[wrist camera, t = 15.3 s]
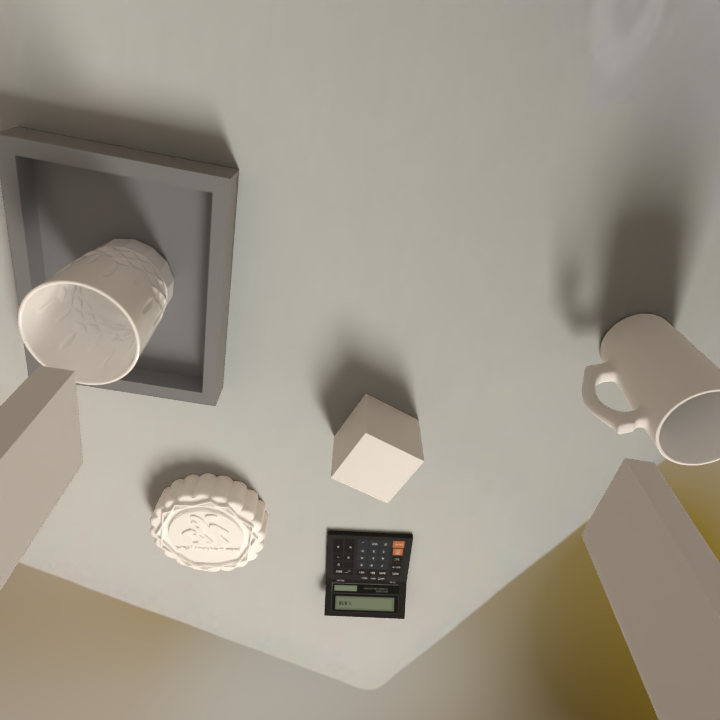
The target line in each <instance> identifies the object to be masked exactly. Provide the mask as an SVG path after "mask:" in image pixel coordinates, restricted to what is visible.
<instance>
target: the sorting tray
mask: <svg viewBox="0 0 720 720" xmlns="http://www.w3.org/2000/svg"><path fill="white" fill-rule="evenodd" d="M238 177H239V169H234V168H229V167H224V166H219V165H213V164H208V163H203V162H198V161H193V160H188V159H182V158H177V157H172V156H167V155H162V154H157V153H151V152H146V151H141V150H136V149H131V148H126V147H120V146H115V145H110V144H105V143H100V142H95V141H89V140H84V139H79V138H74V137H69V136H64V135H58V134H53V133H48V132H43V131H38V130H33V129H27V128H22V127H15V128H12V129H8V130H5V131H1V132H0V178H1V185H2V192H3V200H4V207H5V214H6V221H7V228H8V235H9V242H10V249H11V256H12V263H13V270H14V277H15V284H16V291H17V298H18V305H19V307H20V304H21V302H22V300H23V299H24V297H25V296H26V295H27V294H28V293H29V292H30V291H31V290H32V289H33V288H35V287H36V286H38V285H39V284H41V283H42V282H44V281H45V280H47V279H48V278H50V277H51V276H53V275H54V274H55V273H57V272H58V271H60V270H61V269H63V268H64V267H66V266H67V265H69V264H70V263H72V262H74V261H75V260H77V259H78V258H80V257H82V256H83V255H85V254H86V253H88V252H90V251H93V250H95V249H96V248H97V247H99V246H101V245H103V244H105V243H107V242H109V241H111V240H113V239H135V240H138V241H140V242H142V243H144V244H147V245H149V246H151V247H153V248H154V249H155V250H156V251H157V252H158V253H159V254H160V255H161V256H162V257H163V258H164V259H165V260H166V261H167V262H168V265H169V267H170V270H171V272H172V275H173V277H174V288H173V296H172V298H171V300H170V301H169V303H168V305H167V306H166V308H165V311H164V314H163V316H162V318H161V320H160V322H159V324H158V326H157V327H156V329H155V331H154V333H153V335H152V337H151V338H150V340H149V342H148V344H147V345H146V347H145V349H144V350H143V352H142V354H141V355H140V357H139V359H138V361H137V362H136V364H135V366H134V367H133V369H132V370H131V371H130V372H129V373H128V374H127V375H126V376H124V377H123V378H121V379H119V380H117V381H115V382H112V383H108V384H102V385H86V384H80V383H76V384H77V385H83V386H90V387H96V388H103V389H109V390H115V391H122V392H128V393H135V394H141V395H147V396H154V397H160V398H166V399H173V400H179V401H186V402H192V403H198V404H205V405H211V406H216V404H217V401H218V398H219V396H220V393H221V391H222V388H223V380H224V366H225V353H226V339H227V326H228V312H229V299H230V285H231V272H232V258H233V245H234V231H235V218H236V204H237V191H238ZM24 348H25V355H26V362H27V369H28V376H30V375H31V374H32V373H33V372H34V371H35V370H36V369H37V368H38V367H39V366H43V365H41V364H40V363H39V362H38V361H37V360H36V359H35V358H34V357H33V356H32V354H31V353H30V352H29V350H28V349H27V347H26V346H25V344H24Z"/></svg>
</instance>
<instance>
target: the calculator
mask: <svg viewBox="0 0 720 720" xmlns="http://www.w3.org/2000/svg"><path fill="white" fill-rule="evenodd" d="M412 541H413V534H391V533H369V532H348V531H328V545H327V574H326V595H325V615H328V616H352V617H375V618H398V619H404V616H405V598H406V581H407V575H408V568H409V561H410V555H411V548H412Z"/></svg>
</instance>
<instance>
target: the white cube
mask: <svg viewBox="0 0 720 720" xmlns="http://www.w3.org/2000/svg"><path fill="white" fill-rule="evenodd" d="M423 462H424V457H423V449H422V442H421V434H420V426H419V420H417V419H415V418H413V417H411V416H409V415H407V414H405V413H404V412H402V411H400V410H398V409H396V408H394V407H392V406H390V405H388V404H386V403H384V402H382V401H380V400H378V399H376V398H374V397H372V396H370V395H368V394H365V395H364V397H363V398H362V399H361V401H360V402H359V403H358V405H357V406H356V407H355V409H354V410H353V411H352V413H351V414H350V415H349V417H348V418H347V420H346V421H345V422H344V424H343V425H342V426H341V428H340V429H339V430H338V432H337V433H336V434H335V436H334V445H333V457H332V470H331V478H332V479H334V480H337V481H339V482H341V483H343V484H345V485H348V486H350V487H352V488H354V489H356V490H359V491H361V492H363V493H365V494H368V495H370V496H372V497H374V498H376V499H379V500H381V501H383V502H385V503H388V502H389V501H390V500H391V499H392V497H393V496H394V495H395V494H396V493H397V492H398V491H399V489H400V488H401V487H402V486H403V485H404V484H405V483H406V481H407V480H408V479H409V478H410V477H411V476H412V474H413V473H414V472H415V471H416V470H417V469H418V468H419V466H420V465H421V464H422V463H423Z"/></svg>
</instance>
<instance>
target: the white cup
mask: <svg viewBox="0 0 720 720" xmlns="http://www.w3.org/2000/svg"><path fill="white" fill-rule="evenodd" d="M173 288H174V277H173V275H172V272H171V270H170V267H169V265H168V262H167V261H166V260H165V259H164V258H163V257H162V256H161V255H160V254H159V253H158V252H157V251H156V250H155V249H154V248H153V247H151V246H149V245H147V244H144V243H142V242H140V241H138V240H135V239H113V240H111V241H109V242H107V243H105V244H103V245H101V246H99V247H97V248H96V249H95V250H93V251H90V252H88V253H86V254H85V255H83V256H82V257H80V258H78V259H77V260H75V261H74V262H72V263H70V264H69V265H67V266H66V267H64V268H63V269H61V270H60V271H58V272H57V273H55V274H54V275H53V276H51V277H50V278H48V279H47V280H45V281H44V282H42V283H41V284H39V285H38V286H36V287H35V288H33V289H32V290H31V291H30V292H29V293H28V294H27V295H26V296H25V297H24V299H23V300H22V302H21V304H20V307H19V311H18V328H19V332H20V335H21V338H22V340H23V342H24V344H25V346H26V347H27V349H28V350H29V352H30V353H31V354H32V356H33V357H34V358H35V359H36V360H37V361H38V362H39V363H40V364H41V365H43V366H46V367H53V368H59V369H65V370H72V371H75V378H76V383H80V384H86V385H102V384H108V383H112V382H115V381H117V380H119V379H121V378H123V377H124V376H126V375H127V374H128V373H129V372H130V371H131V370H132V369H133V367H134V366H135V364H136V362H137V361H138V359H139V357H140V355H141V354H142V352H143V350H144V349H145V347H146V345H147V344H148V342H149V340H150V338H151V337H152V335H153V333H154V331H155V329H156V327H157V326H158V324H159V322H160V320H161V318H162V316H163V314H164V311H165V308H166V306H167V305H168V303H169V301H170V300H171V298H172V296H173Z"/></svg>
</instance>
